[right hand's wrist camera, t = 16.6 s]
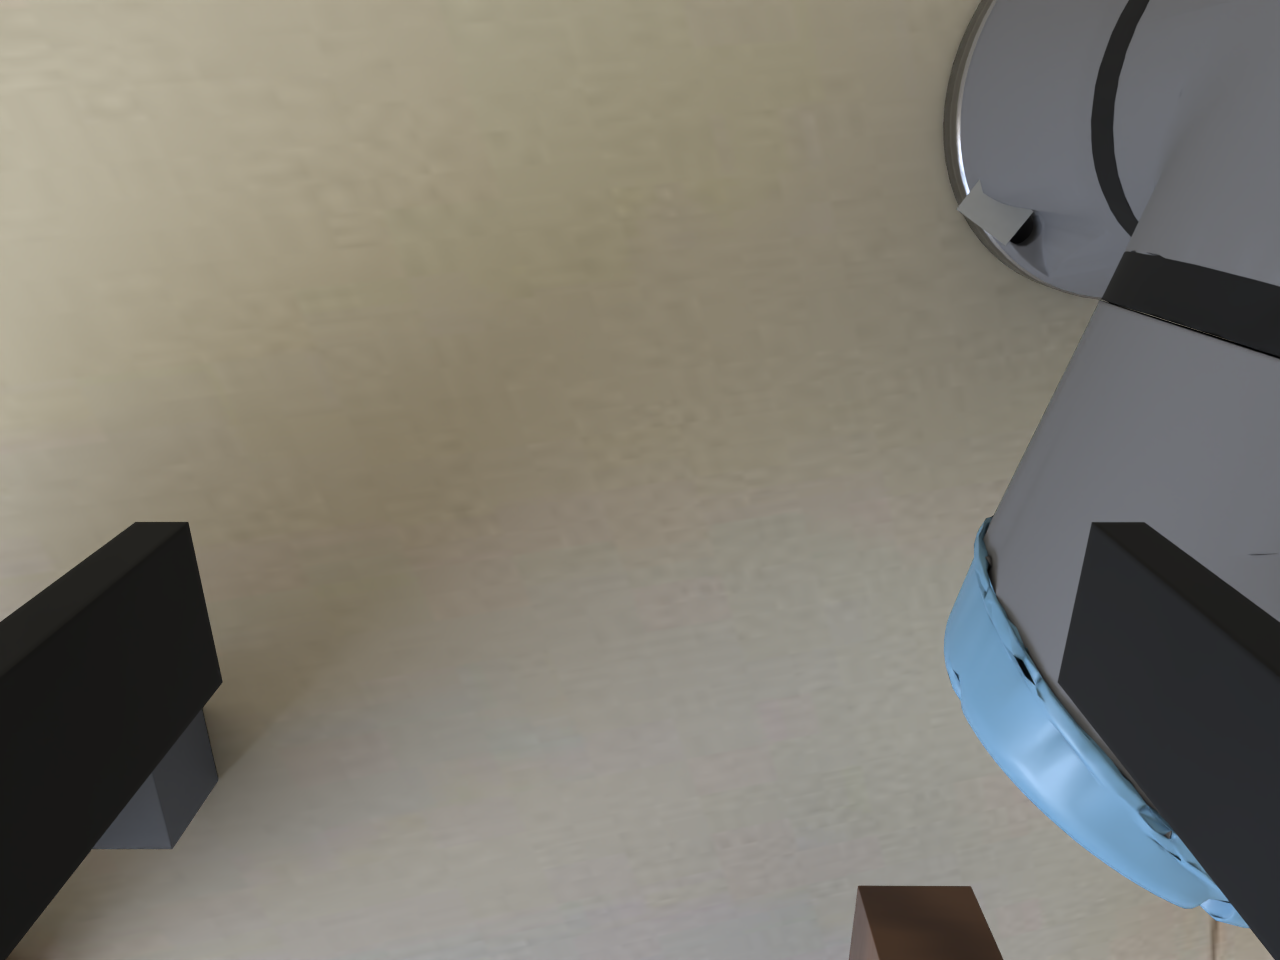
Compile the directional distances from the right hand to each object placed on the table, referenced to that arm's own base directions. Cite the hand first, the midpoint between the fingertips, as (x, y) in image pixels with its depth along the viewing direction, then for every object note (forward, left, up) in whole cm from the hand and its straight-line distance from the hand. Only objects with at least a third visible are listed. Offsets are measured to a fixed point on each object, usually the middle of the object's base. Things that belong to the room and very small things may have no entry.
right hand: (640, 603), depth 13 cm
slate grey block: (+26, +24, -27) cm, 44 cm away
